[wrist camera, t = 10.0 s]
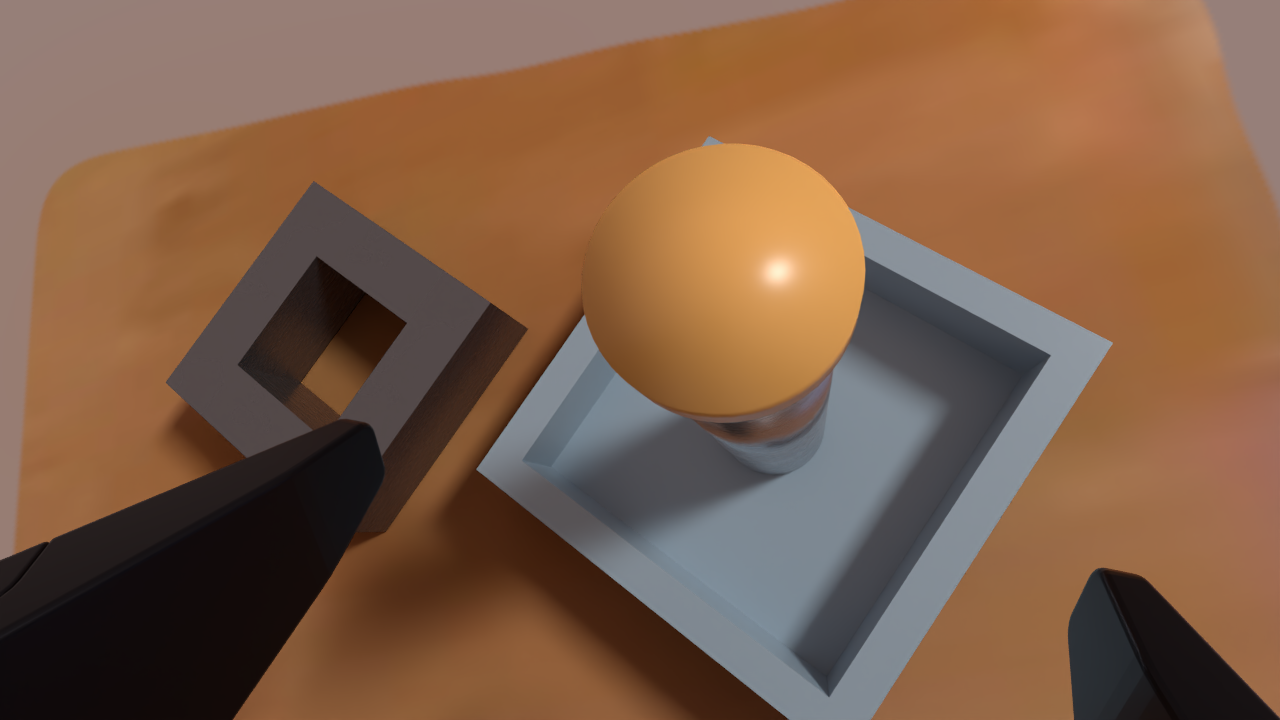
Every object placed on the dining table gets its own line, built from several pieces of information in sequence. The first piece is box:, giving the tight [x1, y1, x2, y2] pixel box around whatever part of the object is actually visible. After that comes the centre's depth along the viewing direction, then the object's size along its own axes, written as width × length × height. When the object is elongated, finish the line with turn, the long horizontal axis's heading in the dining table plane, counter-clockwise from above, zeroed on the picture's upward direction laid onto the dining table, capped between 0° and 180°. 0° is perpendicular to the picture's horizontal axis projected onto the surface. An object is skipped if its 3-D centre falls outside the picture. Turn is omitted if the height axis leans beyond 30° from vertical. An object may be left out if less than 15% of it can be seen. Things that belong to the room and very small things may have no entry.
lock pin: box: [581, 144, 865, 475], centre depth 15 cm, size 3×3×13 cm
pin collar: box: [166, 181, 528, 532], centre depth 24 cm, size 8×8×3 cm
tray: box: [476, 136, 1112, 720], centre depth 20 cm, size 12×12×3 cm
